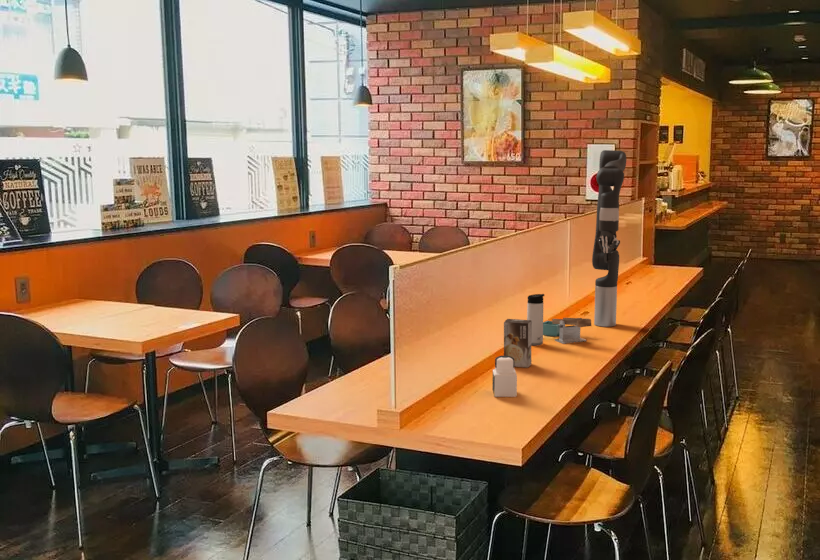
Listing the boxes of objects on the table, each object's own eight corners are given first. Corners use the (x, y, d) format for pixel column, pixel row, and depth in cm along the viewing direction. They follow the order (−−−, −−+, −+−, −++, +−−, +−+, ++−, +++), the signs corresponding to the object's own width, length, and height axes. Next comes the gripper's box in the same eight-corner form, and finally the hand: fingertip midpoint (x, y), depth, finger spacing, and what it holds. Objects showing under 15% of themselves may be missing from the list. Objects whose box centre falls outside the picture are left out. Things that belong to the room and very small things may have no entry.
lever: (580, 323, 354) (579, 316, 354) (606, 324, 336) (606, 317, 336) (552, 325, 349) (552, 318, 349) (578, 327, 331) (577, 320, 331)
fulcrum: (578, 338, 347) (578, 317, 346) (586, 341, 342) (587, 320, 341) (554, 340, 343) (555, 319, 342) (562, 343, 338) (563, 322, 336)
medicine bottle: (492, 390, 274) (492, 354, 272) (514, 390, 274) (515, 354, 272) (493, 397, 267) (494, 359, 265) (516, 397, 267) (517, 359, 265)
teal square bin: (546, 331, 361) (547, 320, 360) (563, 333, 357) (564, 322, 356) (539, 334, 354) (539, 323, 354) (556, 336, 350) (556, 325, 349)
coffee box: (532, 363, 308) (532, 319, 305) (528, 368, 302) (529, 323, 299) (507, 361, 311) (507, 318, 308) (502, 365, 305) (503, 321, 302)
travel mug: (543, 346, 334) (544, 295, 331) (526, 345, 336) (526, 295, 332) (544, 342, 340) (544, 292, 337) (527, 341, 342) (528, 292, 338)
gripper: (591, 218, 345) (590, 260, 348) (611, 220, 333) (609, 264, 335) (607, 217, 348) (605, 259, 350) (627, 220, 336) (625, 263, 338)
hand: (607, 262), depth 343 cm, fingers closed
